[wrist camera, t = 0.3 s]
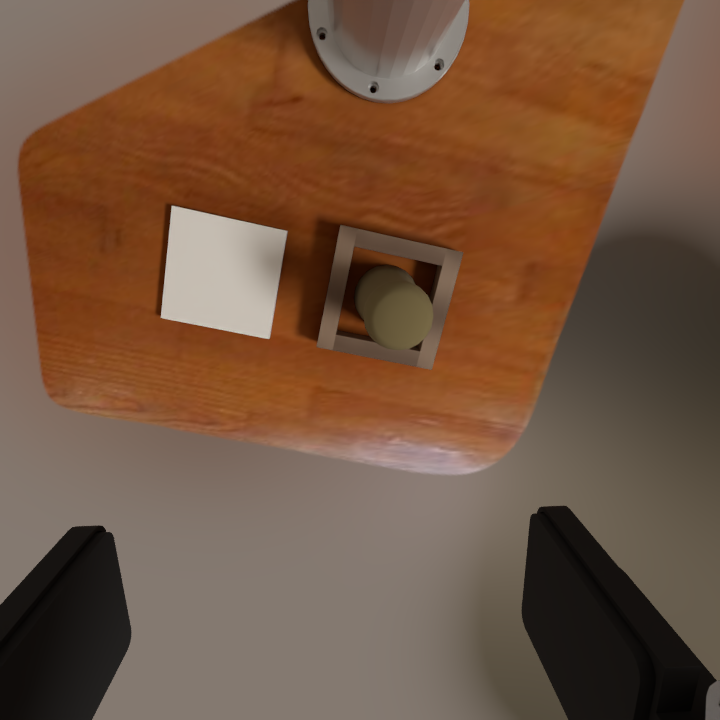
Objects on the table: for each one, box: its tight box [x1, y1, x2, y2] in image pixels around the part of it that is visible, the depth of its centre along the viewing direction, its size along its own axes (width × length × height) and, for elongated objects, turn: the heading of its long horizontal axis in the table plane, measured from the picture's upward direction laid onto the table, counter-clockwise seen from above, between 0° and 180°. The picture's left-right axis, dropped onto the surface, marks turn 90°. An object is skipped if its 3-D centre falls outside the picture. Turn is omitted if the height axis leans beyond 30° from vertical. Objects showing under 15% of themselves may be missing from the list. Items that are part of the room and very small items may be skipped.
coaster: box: [161, 206, 288, 339], centre depth 41 cm, size 10×10×1 cm
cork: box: [354, 265, 433, 350], centre depth 37 cm, size 6×6×11 cm
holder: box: [317, 225, 463, 370], centre depth 42 cm, size 11×11×2 cm
